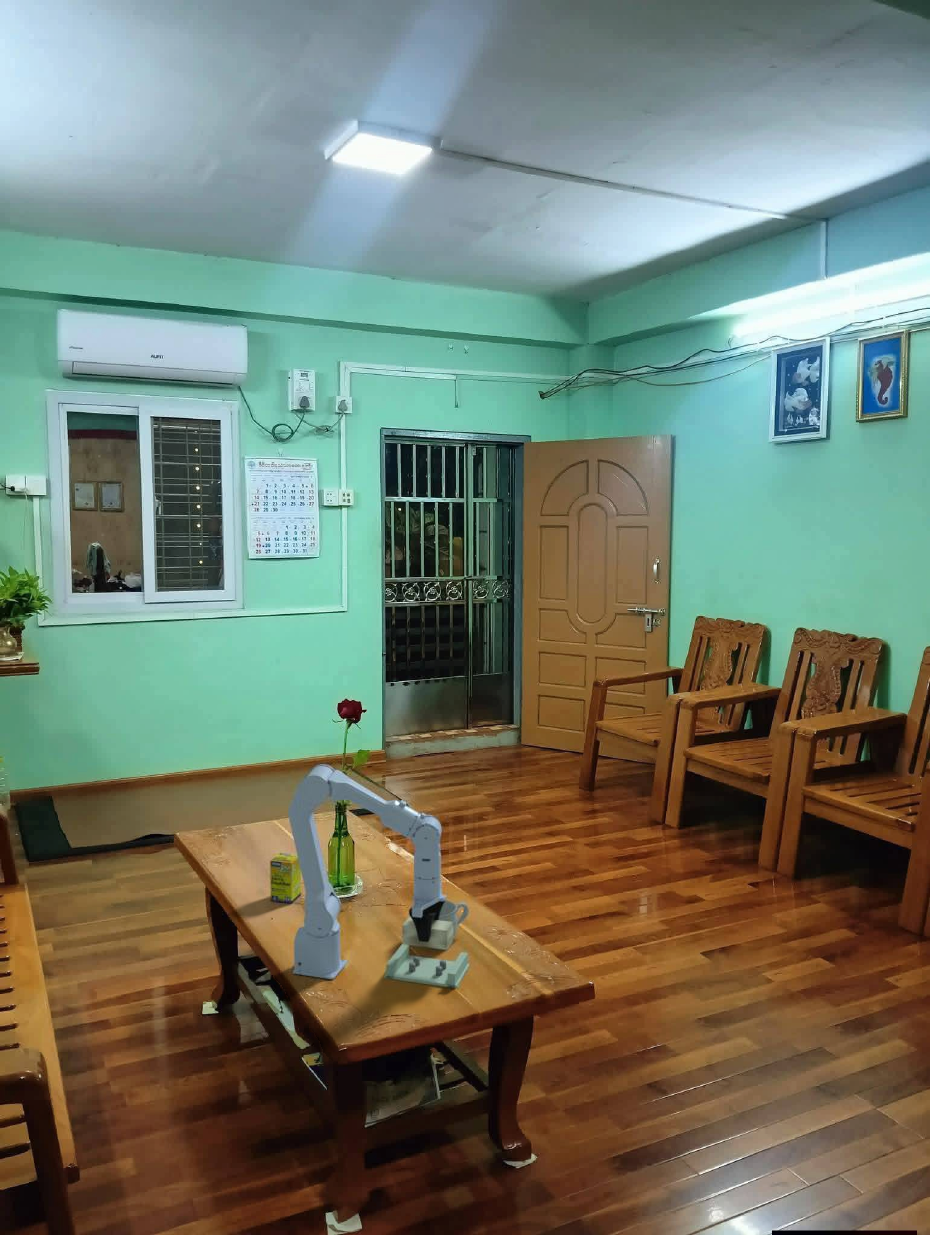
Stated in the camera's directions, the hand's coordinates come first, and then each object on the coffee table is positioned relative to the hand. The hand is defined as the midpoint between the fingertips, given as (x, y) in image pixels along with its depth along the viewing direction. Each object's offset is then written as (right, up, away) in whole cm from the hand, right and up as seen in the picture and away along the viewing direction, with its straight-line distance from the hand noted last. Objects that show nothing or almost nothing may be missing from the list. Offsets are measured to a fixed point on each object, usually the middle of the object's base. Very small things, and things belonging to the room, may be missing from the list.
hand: (427, 936), depth 200 cm
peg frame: (0, -8, +1) cm, 8 cm away
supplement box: (-38, -4, +40) cm, 55 cm away
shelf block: (0, -1, 0) cm, 1 cm away
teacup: (+2, -7, +17) cm, 18 cm away
